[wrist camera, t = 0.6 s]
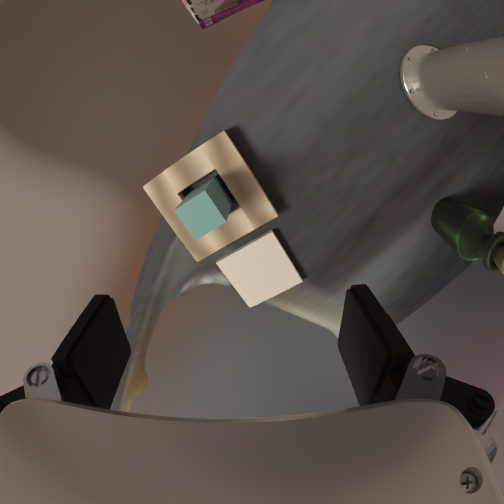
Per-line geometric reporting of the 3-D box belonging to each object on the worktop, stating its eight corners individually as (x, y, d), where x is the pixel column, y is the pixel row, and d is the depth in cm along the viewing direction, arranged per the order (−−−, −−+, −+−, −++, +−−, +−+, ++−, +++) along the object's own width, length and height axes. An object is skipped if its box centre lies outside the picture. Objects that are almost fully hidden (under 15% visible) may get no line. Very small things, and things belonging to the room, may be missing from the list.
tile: (271, 229, 43) (272, 231, 42) (301, 278, 47) (302, 281, 46) (216, 260, 45) (216, 263, 44) (249, 304, 49) (249, 307, 48)
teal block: (215, 175, 40) (204, 190, 31) (232, 201, 41) (226, 222, 33) (189, 192, 41) (173, 210, 32) (206, 216, 42) (195, 240, 34)
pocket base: (225, 130, 37) (223, 130, 35) (276, 211, 42) (278, 216, 40) (147, 183, 40) (142, 186, 38) (199, 256, 45) (197, 262, 43)
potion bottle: (443, 244, 44) (502, 297, 27) (418, 221, 42) (483, 273, 26) (466, 209, 41) (531, 252, 24) (443, 183, 39) (516, 221, 23)
